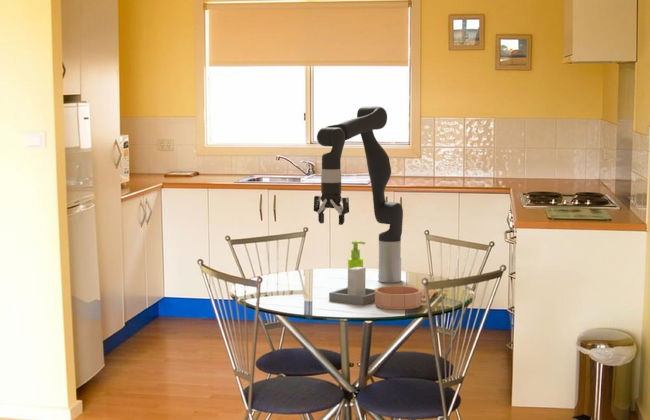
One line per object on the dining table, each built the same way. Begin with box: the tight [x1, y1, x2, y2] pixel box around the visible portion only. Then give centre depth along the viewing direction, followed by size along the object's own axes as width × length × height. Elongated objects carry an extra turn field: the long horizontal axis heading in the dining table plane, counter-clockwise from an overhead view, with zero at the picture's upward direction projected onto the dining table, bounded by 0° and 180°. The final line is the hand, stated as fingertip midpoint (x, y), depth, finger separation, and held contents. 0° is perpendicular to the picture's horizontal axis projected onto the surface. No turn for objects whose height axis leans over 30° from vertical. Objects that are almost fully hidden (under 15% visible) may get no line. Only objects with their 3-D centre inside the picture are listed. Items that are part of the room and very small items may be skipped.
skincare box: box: [347, 266, 366, 296], centre depth 356 cm, size 6×4×12 cm
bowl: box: [374, 285, 422, 311], centre depth 347 cm, size 17×17×6 cm
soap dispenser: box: [347, 240, 366, 270], centre depth 371 cm, size 6×7×20 cm
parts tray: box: [328, 286, 376, 306], centre depth 357 cm, size 15×15×3 cm
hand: (331, 223), depth 353 cm, fingers open, 8 cm apart
